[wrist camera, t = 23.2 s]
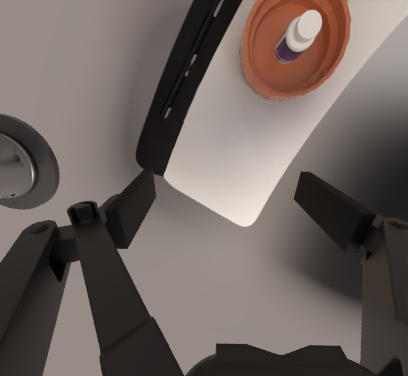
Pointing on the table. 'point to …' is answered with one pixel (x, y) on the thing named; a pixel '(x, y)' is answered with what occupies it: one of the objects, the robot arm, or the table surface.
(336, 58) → the bowl
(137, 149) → the table surface
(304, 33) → the pill bottle
